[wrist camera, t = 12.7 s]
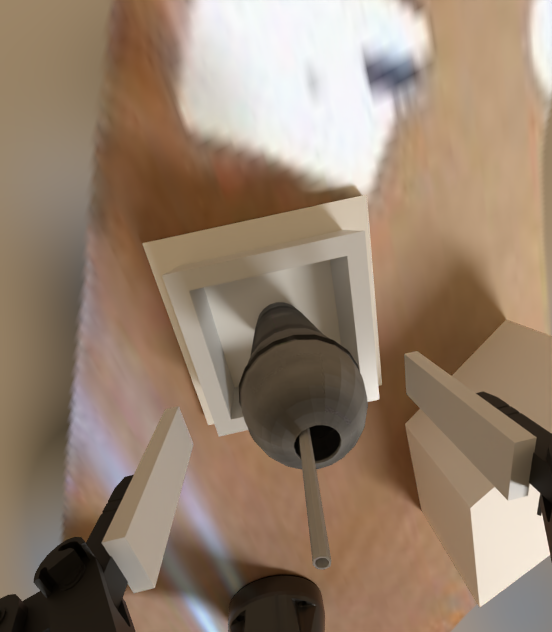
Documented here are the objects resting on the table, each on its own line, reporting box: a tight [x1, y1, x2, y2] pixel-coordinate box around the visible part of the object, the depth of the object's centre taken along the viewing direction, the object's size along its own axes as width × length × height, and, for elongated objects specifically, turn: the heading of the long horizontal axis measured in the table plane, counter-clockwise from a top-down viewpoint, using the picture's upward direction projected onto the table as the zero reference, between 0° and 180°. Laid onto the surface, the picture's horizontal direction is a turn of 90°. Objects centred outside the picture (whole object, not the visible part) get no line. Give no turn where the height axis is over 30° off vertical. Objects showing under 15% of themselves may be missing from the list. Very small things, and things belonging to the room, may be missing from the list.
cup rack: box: [142, 195, 382, 436], centre depth 24 cm, size 20×20×6 cm
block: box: [405, 320, 552, 607], centre depth 29 cm, size 15×30×11 cm, turn 171°
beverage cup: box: [239, 302, 368, 569], centre depth 17 cm, size 7×7×20 cm
